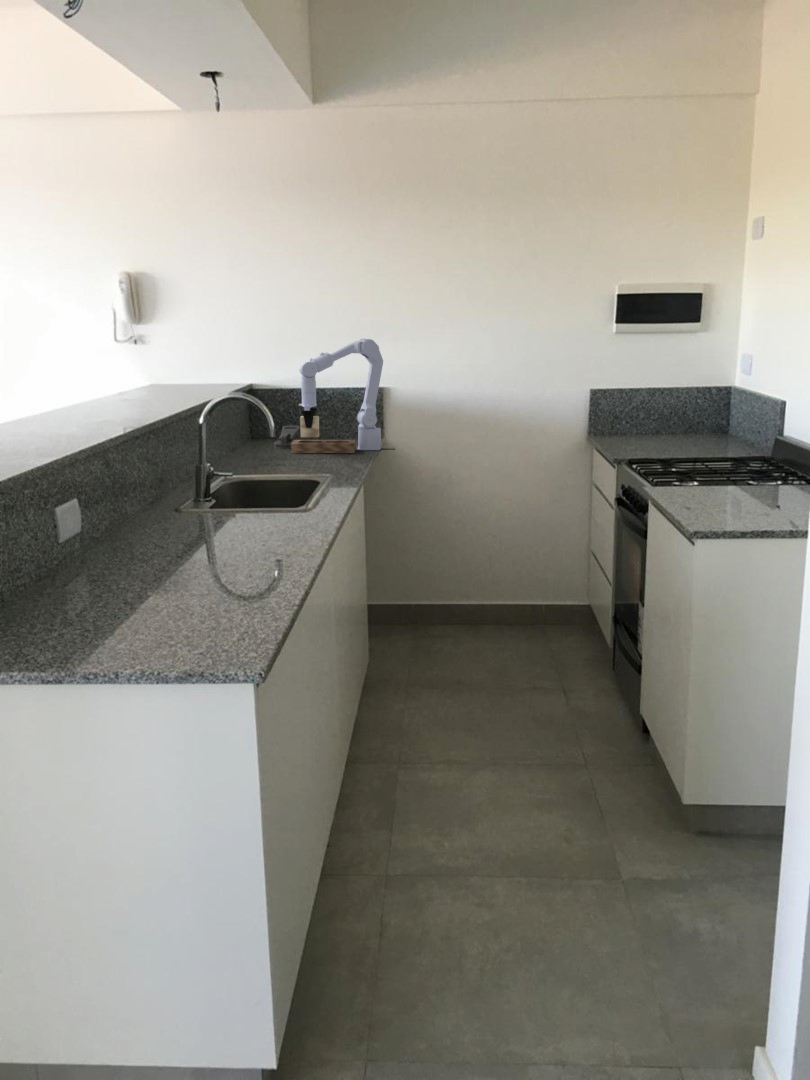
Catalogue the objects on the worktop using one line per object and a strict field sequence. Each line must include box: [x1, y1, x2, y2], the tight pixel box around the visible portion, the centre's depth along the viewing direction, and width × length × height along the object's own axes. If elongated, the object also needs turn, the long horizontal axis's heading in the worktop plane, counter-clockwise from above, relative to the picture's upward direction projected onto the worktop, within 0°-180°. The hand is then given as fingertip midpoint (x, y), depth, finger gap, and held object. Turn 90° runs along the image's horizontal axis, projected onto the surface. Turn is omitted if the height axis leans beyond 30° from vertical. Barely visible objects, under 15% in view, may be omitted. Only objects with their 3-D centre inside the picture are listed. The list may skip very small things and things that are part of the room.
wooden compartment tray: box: [290, 439, 357, 454], centre depth 366 cm, size 25×10×4 cm, turn 89°
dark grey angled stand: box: [273, 425, 300, 449], centre depth 385 cm, size 9×7×25 cm
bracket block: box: [299, 415, 320, 438], centre depth 364 cm, size 7×4×8 cm, turn 89°
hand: (309, 427), depth 364 cm, fingers closed on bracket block, 4 cm apart
